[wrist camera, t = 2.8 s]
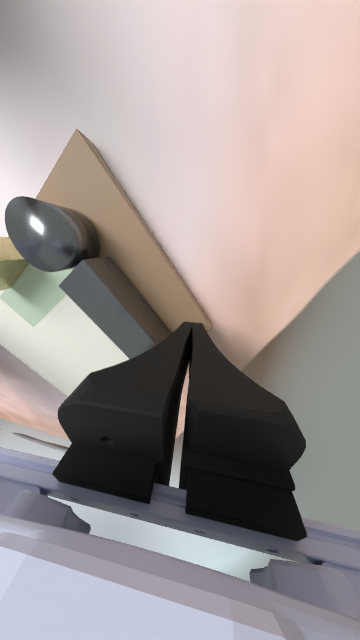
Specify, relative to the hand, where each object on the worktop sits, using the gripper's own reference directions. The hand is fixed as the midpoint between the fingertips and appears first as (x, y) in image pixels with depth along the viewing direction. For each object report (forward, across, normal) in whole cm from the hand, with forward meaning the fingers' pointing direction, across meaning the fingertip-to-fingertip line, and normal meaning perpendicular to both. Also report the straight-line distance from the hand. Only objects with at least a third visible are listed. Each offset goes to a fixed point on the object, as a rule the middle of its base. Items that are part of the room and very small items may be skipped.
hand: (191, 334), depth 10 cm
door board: (+2, +10, +1) cm, 11 cm away
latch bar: (+1, +5, -2) cm, 6 cm away
